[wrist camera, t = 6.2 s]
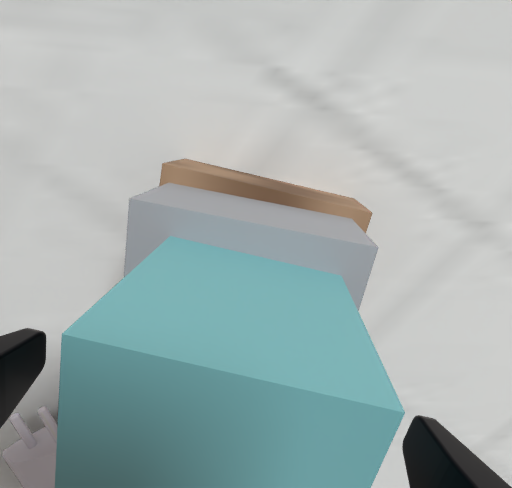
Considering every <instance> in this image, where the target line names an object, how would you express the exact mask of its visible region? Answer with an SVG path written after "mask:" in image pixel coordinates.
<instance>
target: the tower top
mask: <svg viewBox="0 0 512 488" xmlns="http://www.w3.org/2000/svg"><path fill="white" fill-rule="evenodd" d="M170 236H173V237H177V238H181V239H186V240H190V241H194V242H199V243H203V244H207V245H211V246H216V247H220V248H224V249H229V250H233V251H237V252H242V253H246V254H250V255H255V256H259V257H263V258H267V259H272V260H276V261H280V262H285V263H289V264H293V265H298V266H302V267H306V268H311V269H315V270H319V271H323V272H328V273H332V274H336V275H341V276H342V278H343V280H344V282H345V284H346V286H347V288H348V291H349V293H350V295H351V297H352V299H353V301H354V304H355V306H356V308H357V310H359V307H360V304H361V301H362V298H363V295H364V291H365V288H366V285H367V282H368V279H369V276H370V273H371V269H372V266H373V263H374V260H375V257H376V254H377V250H378V246H377V245H376V244H375V243H374V242H373V241H372V240H371V239H370V238H369V237H368V236H367V235H366V233H365V232H364V231H363V230H362V229H361V228H360V227H359V226H358V225H357V224H356V223H355V222H354V220H353V219H351V218H346V217H341V216H336V215H331V214H326V213H321V212H316V211H311V210H305V209H300V208H295V207H290V206H285V205H280V204H275V203H270V202H265V201H260V200H255V199H249V198H244V197H239V196H234V195H229V194H224V193H219V192H214V191H209V190H204V189H199V188H193V187H188V186H183V185H178V184H173V183H167V184H164V185H162V186H159V187H157V188H154V189H152V190H149V191H147V192H144V193H142V194H139V195H137V196H134V197H132V198H129V211H128V226H127V240H126V255H125V269H124V277H125V276H127V275H128V274H129V273H130V272H131V271H132V270H133V269H134V268H135V267H136V266H138V265H139V264H140V263H141V262H142V261H143V260H144V259H145V258H146V257H147V256H149V255H150V254H151V253H152V252H153V251H154V250H155V249H156V248H157V247H159V246H160V245H161V244H162V243H163V242H164V241H165V240H166V239H167V238H168V237H170Z"/></svg>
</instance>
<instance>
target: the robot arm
mask: <svg viewBox="0 0 512 488" xmlns="http://www.w3.org/2000/svg"><path fill="white" fill-rule="evenodd" d="M45 360H46V335H45V333H44V332H43V331H39V330H35V329H30V328H26V329H22V330H19V331H16V332H12V333H9V334H6V335H3V336H0V428H1V427H2V426H3V424H4V423H5V422H6V420H7V419H8V417H9V416H10V415H11V413H12V412H13V410H14V409H15V408H16V406H17V405H18V403H19V402H20V401H21V399H22V398H23V396H24V395H25V394H26V392H27V391H28V389H29V388H30V386H31V385H32V384H33V382H34V381H35V379H36V378H37V377H38V375H39V374H40V372H41V371H42V369H43V367H44V365H45ZM403 455H404V460H405V465H406V470H407V475H408V480H409V485H410V488H512V487H511V486H509V485H508V484H507V483H506V482H505V481H504V480H503V479H502V478H500V477H499V476H498V475H497V474H496V473H495V472H494V471H493V470H491V469H490V468H489V467H488V466H487V465H486V464H485V463H484V462H482V461H481V460H480V459H479V458H478V457H477V456H476V455H475V454H473V453H472V452H471V451H470V450H469V449H468V448H467V447H466V446H464V445H463V444H462V443H461V442H460V441H459V440H458V439H457V438H455V437H454V436H453V435H452V434H451V433H450V432H449V431H448V430H446V429H445V428H444V427H443V426H442V425H441V424H440V423H439V422H437V421H436V420H435V419H433V418H429V417H425V416H420V415H418V416H415V417H414V419H413V420H412V422H411V425H410V427H409V429H408V431H407V433H406V436H405V438H404V440H403Z"/></svg>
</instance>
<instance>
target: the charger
mask: <svg viewBox="0 0 512 488" xmlns="http://www.w3.org/2000/svg"><path fill="white" fill-rule="evenodd" d="M37 414H38V415H39V417H40V419H41V420H42V422H43V423H44V425H45V427H44V428H42V429H40V430H38V431H36V432H34V433H31V432H30V430H29V428H28V427H27V425H26V424H25V422H24V421H23V419H22V417H21V416H20V414H19V413H14V414H12V415H11V416H10V418H9V420H10V421H11V423H12V425H13V426H14V428H15V429H16V431H17V432H18V434H19V435H20V437H21V438H22V439H20V440H18V441H16V442H15V443H13V444H12V445H11V446H9V447H8V448H6V449H5V450H3V455H2V457H3V458H4V460H5V461H6V462H7V464H8V465H9V467H10V468H11V470H12V471H13V473H14V474H15V476H16V477H17V479H18V480H19V482H20V483H21V485H22V486H23V488H55V470H56V448H57V427H58V424H57V423H56V422H55V420H54V418H53V417H52V415H51V413H50V412H49V410H48V408H47V407H45V406H43V407H41V408H39V409H38V411H37Z"/></svg>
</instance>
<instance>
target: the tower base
mask: <svg viewBox="0 0 512 488" xmlns="http://www.w3.org/2000/svg"><path fill="white" fill-rule="evenodd" d="M167 183H173V184H178V185H183V186H188V187H193V188H199V189H204V190H209V191H214V192H219V193H224V194H229V195H234V196H239V197H244V198H249V199H255V200H260V201H265V202H270V203H275V204H280V205H285V206H290V207H295V208H300V209H305V210H311V211H316V212H321V213H326V214H331V215H336V216H341V217H346V218H351V219H353V220H354V222H355V223H356V224H357V225H358V226H359V227H360V228H361V229H362V230H363V231H364V232H365V233H366V231H367V228H368V225H369V222H370V219H371V216H372V212H371V211H369V210H368V209H367V208H366V207H364V206H363V205H362V204H360V203H359V202H358V201H357V200H355V199H354V198H349V197H345V196H341V195H337V194H332V193H328V192H324V191H320V190H315V189H311V188H307V187H303V186H298V185H294V184H290V183H286V182H282V181H277V180H273V179H269V178H265V177H260V176H256V175H252V174H248V173H243V172H239V171H235V170H231V169H226V168H222V167H218V166H214V165H210V164H205V163H201V162H197V161H193V160H188V159H181V160H176V161H172V162H167V163H162V171H161V178H160V186H162V185H164V184H167Z"/></svg>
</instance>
